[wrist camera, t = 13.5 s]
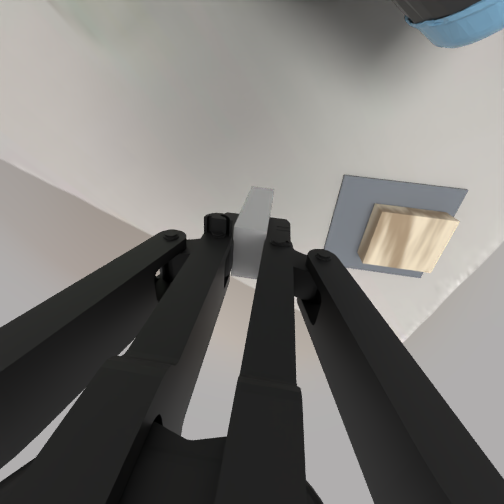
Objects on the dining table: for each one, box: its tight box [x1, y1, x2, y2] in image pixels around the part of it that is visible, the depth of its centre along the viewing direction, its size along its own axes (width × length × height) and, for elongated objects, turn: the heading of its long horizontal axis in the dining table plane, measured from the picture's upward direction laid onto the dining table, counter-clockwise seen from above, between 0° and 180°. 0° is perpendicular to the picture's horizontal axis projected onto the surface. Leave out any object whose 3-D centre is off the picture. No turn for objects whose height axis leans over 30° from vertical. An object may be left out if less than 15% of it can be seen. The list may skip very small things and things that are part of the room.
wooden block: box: [357, 203, 460, 273], centre depth 44 cm, size 4×10×12 cm
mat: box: [324, 175, 468, 278], centre depth 46 cm, size 20×18×1 cm
